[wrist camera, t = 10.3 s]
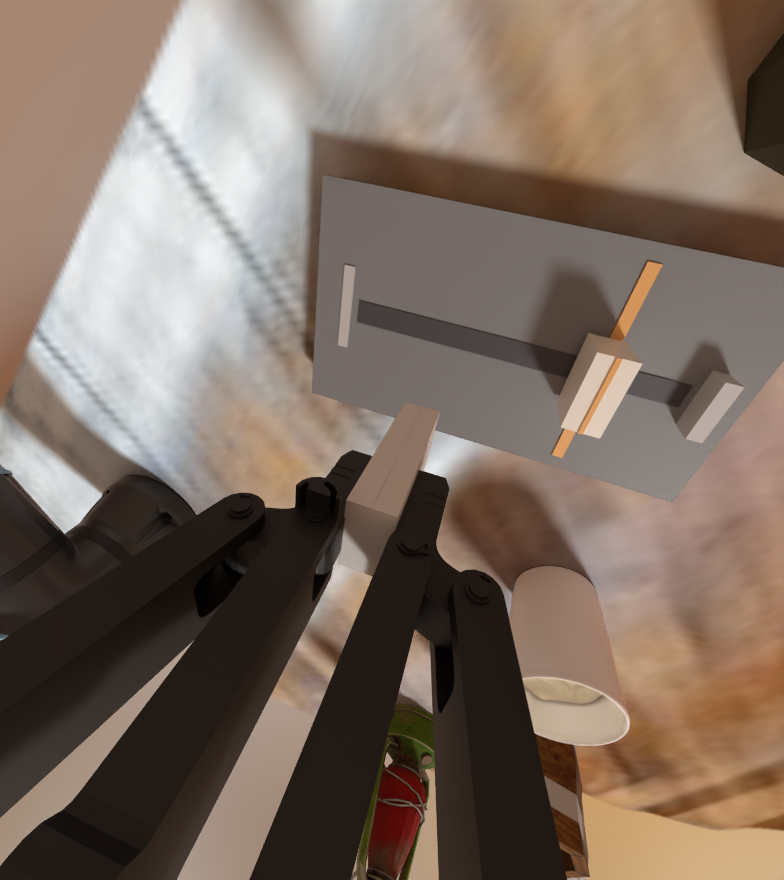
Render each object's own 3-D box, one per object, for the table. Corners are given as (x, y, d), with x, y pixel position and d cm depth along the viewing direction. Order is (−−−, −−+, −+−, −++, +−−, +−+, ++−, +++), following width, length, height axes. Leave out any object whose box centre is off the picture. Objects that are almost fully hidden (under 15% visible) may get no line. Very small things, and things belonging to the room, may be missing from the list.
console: (326, 379, 36) (300, 402, 32) (341, 177, 27) (307, 172, 23) (660, 479, 31) (680, 519, 27) (812, 272, 22) (875, 286, 18)
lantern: (463, 745, 65) (422, 1071, 40) (412, 743, 70) (350, 1030, 46) (419, 697, 61) (344, 1024, 37) (369, 698, 66) (275, 985, 42)
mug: (455, 675, 55) (433, 809, 43) (541, 662, 48) (545, 819, 35) (531, 751, 59) (531, 893, 47) (621, 750, 52) (649, 918, 40)
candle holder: (536, 545, 39) (538, 659, 29) (627, 589, 38) (660, 722, 28) (490, 595, 44) (479, 705, 34) (569, 634, 44) (580, 757, 34)
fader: (556, 400, 27) (560, 428, 24) (588, 332, 24) (597, 352, 21) (591, 410, 27) (600, 439, 23) (627, 342, 24) (643, 364, 21)
